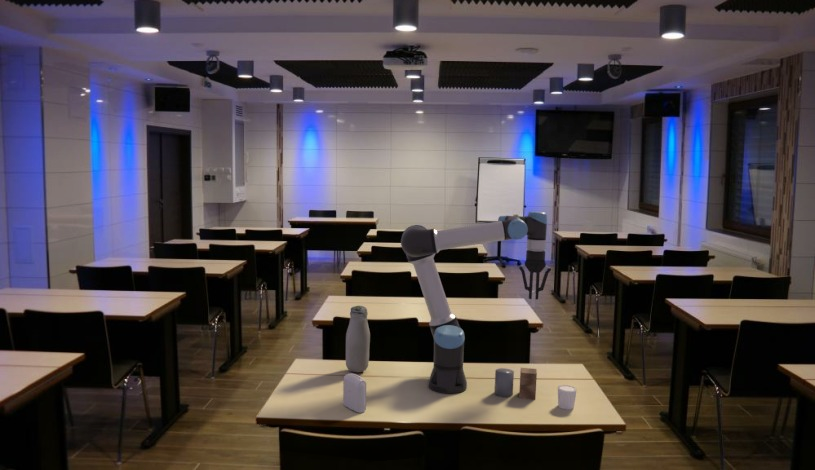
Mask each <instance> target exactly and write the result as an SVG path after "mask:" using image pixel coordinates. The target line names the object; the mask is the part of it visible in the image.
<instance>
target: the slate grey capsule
mask: <svg viewBox="0 0 815 470" xmlns="http://www.w3.org/2000/svg"><path fill="white" fill-rule="evenodd" d="M514 375H515V371H514V370H513V369H510V368H503V367H501V368H497V369H495V375H494V395H495V396H497V397H500V398H511V397H513V394H514Z"/></svg>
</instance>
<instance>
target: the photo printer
mask: <svg viewBox="0 0 815 470" xmlns="http://www.w3.org/2000/svg"><path fill="white" fill-rule="evenodd" d="M342 390H343V391H342V392H343V394H342V395H343V396H342V398H343V400H342V401H343V406H344V407H346V408H347V409H350V410H352V411H354V412H356V413H358V414H361V413H364V412H365V411H366V410H367V382H366V380H365V379H364V378H363V377H362V376H360V375H358V374H356V373H354V372H350V373H346V374H345V375H344V376H343V389H342Z"/></svg>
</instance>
